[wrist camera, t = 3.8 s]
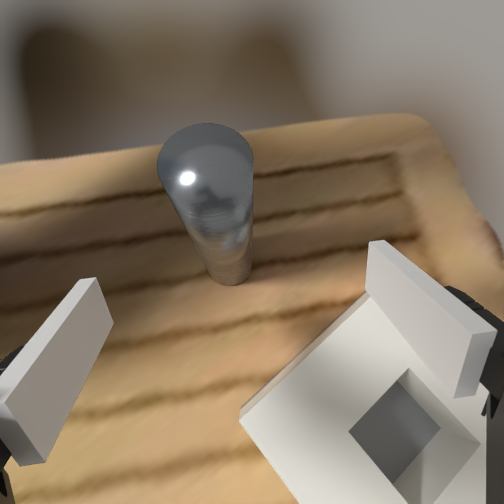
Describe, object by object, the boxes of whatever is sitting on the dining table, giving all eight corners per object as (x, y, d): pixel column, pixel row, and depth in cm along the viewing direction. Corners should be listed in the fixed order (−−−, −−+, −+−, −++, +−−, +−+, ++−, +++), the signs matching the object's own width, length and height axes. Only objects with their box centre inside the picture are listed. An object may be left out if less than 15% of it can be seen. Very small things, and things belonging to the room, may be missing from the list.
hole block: (241, 406, 23) (238, 420, 18) (373, 283, 26) (400, 268, 21) (388, 604, 19) (433, 686, 14) (522, 433, 22) (595, 455, 18)
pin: (198, 261, 27) (138, 156, 12) (233, 234, 28) (213, 108, 13) (226, 295, 26) (195, 224, 11) (261, 266, 27) (273, 166, 12)
